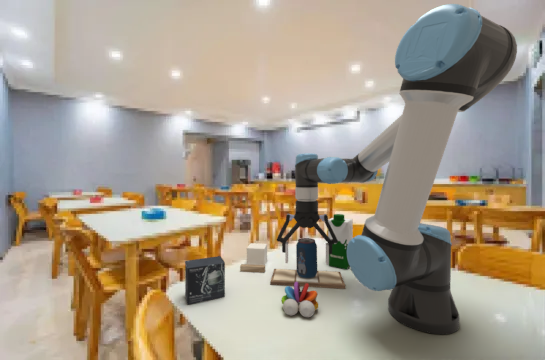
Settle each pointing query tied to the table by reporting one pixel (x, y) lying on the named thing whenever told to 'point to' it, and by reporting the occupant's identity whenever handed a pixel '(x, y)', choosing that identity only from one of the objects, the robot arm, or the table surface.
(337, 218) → the milk carton
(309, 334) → the table surface
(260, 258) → the white cube
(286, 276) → the board
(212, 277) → the box
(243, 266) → the stick
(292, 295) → the rainbow petal fan toy
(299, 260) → the soda can
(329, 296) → the table surface
